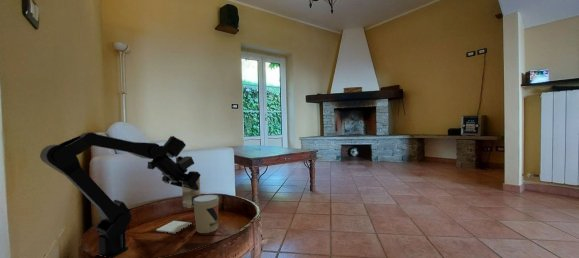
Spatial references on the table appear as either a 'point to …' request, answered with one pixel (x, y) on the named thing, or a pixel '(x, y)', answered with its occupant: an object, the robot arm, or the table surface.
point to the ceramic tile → (173, 226)
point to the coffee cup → (206, 213)
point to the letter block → (190, 195)
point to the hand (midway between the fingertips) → (194, 188)
